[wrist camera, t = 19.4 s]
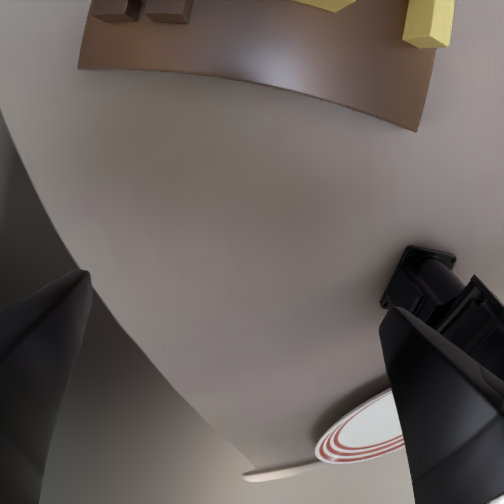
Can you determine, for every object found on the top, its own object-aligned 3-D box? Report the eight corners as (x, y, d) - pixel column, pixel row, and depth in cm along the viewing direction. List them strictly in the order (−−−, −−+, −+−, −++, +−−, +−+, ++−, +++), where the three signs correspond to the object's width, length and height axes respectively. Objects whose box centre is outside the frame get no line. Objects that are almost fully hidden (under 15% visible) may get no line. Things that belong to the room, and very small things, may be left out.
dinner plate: (478, 319, 30) (491, 336, 27) (460, 403, 43) (466, 415, 41) (284, 410, 35) (288, 432, 32) (333, 460, 48) (336, 474, 45)
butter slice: (428, -3, 12) (456, -10, 9) (419, 49, 14) (448, 47, 11) (410, -13, 12) (437, -22, 9) (401, 39, 14) (429, 35, 11)
